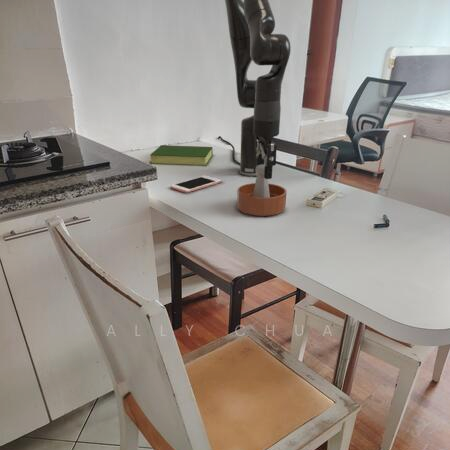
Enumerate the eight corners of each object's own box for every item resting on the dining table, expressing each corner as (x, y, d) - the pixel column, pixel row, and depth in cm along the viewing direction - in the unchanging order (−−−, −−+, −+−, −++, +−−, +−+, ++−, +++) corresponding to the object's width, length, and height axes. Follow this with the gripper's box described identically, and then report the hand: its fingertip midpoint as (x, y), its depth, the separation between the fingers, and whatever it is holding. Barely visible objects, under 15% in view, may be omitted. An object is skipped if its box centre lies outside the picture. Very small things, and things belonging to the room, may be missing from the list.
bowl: (232, 202, 136) (233, 184, 133) (276, 199, 139) (278, 181, 136) (243, 219, 124) (243, 199, 121) (291, 215, 126) (293, 196, 123)
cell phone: (221, 182, 155) (221, 179, 154) (186, 193, 144) (186, 190, 143) (205, 177, 160) (205, 175, 159) (170, 188, 149) (169, 185, 148)
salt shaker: (257, 211, 128) (259, 168, 121) (248, 205, 132) (249, 164, 125) (273, 208, 130) (276, 166, 123) (263, 202, 134) (266, 162, 127)
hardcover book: (212, 155, 191) (212, 146, 189) (205, 165, 175) (205, 156, 173) (160, 153, 194) (159, 145, 192) (149, 163, 178) (148, 154, 176)
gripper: (247, 113, 122) (246, 168, 131) (260, 122, 110) (258, 182, 119) (272, 112, 123) (269, 167, 132) (287, 121, 112) (282, 180, 121)
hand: (263, 174), depth 126 cm, fingers open, 8 cm apart
